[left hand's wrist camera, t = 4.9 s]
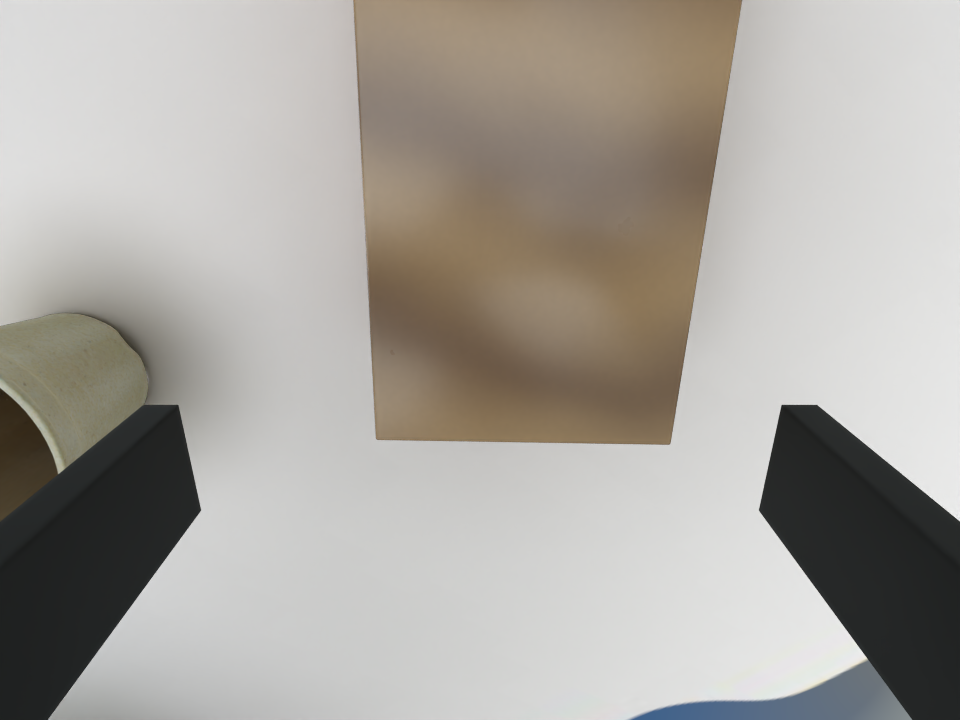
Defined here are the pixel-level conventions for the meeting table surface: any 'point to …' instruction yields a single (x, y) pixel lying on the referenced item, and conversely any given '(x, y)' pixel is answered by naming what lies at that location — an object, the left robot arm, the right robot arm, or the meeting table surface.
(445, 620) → the meeting table surface
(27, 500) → the left robot arm
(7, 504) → the flower pot
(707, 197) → the cabinet
